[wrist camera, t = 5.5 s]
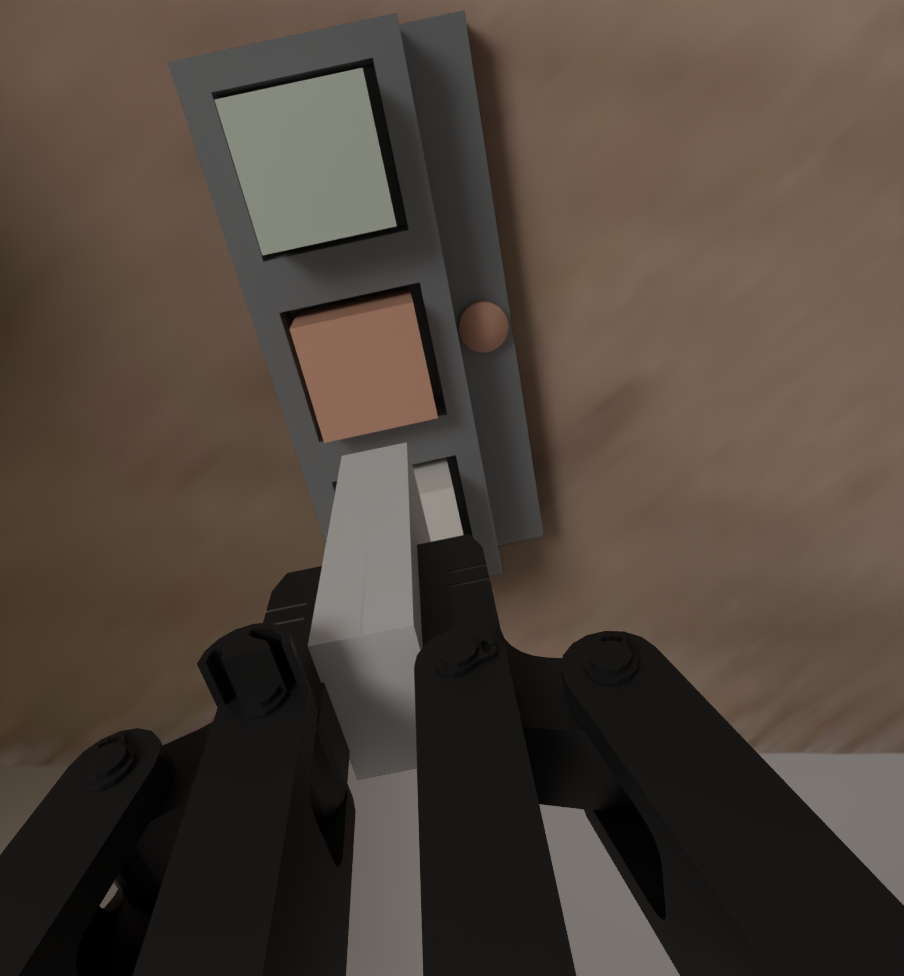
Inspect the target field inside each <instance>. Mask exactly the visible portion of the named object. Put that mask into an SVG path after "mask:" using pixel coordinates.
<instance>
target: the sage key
mask: <svg viewBox="0 0 904 976" xmlns="http://www.w3.org/2000/svg"><path fill="white" fill-rule="evenodd" d="M215 103H216V107H217V110H218V113H219V116H220V120H221V123H222V126H223V129H224V133H225V136H226V139H227V142H228V146H229V149H230V152H231V155H232V159H233V162H234V165H235V168H236V171H237V175H238V178H239V181H240V184H241V188H242V191H243V194H244V197H245V201H246V204H247V207H248V210H249V214H250V217H251V220H252V223H253V227H254V230H255V233H256V236H257V240H258V243H259V246H260V249H261V253H262V255H267V254H271V253H276V252H281V251H285V250H290V249H294V248H299V247H304V246H308V245H313V244H317V243H322V242H327V241H331V240H336V239H340V238H345V237H350V236H354V235H359V234H363V233H368V232H373V231H377V230H382V229H386V228H391V227H396V226H397V225H396V220H395V216H394V211H393V206H392V202H391V197H390V193H389V188H388V183H387V179H386V174H385V169H384V165H383V160H382V156H381V151H380V146H379V142H378V137H377V132H376V128H375V123H374V118H373V114H372V109H371V105H370V100H369V95H368V91H367V86H366V81H365V77H364V72H363V68H359V69H354V70H349V71H345V72H340V73H336V74H331V75H326V76H322V77H317V78H312V79H308V80H303V81H299V82H294V83H289V84H285V85H280V86H276V87H271V88H266V89H262V90H257V91H252V92H248V93H243V94H239V95H234V96H229V97H225V98H220V99H215Z"/></svg>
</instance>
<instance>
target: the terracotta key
mask: <svg viewBox="0 0 904 976" xmlns="http://www.w3.org/2000/svg"><path fill="white" fill-rule="evenodd" d="M290 333H291V336H292V339H293V342H294V346H295V349H296V352H297V355H298V359H299V362H300V365H301V369H302V372H303V375H304V378H305V382H306V385H307V388H308V391H309V395H310V398H311V401H312V405H313V408H314V411H315V414H316V418H317V421H318V424H319V428H320V431H321V434H322V437H323V441H324V443H327V442H331V441H336V440H340V439H345V438H350V437H354V436H359V435H363V434H368V433H372V432H377V431H382V430H386V429H391V428H395V427H400V426H404V425H409V424H414V423H418V422H423V421H427V420H432V419H436V418H438V416H437V411H436V406H435V402H434V397H433V392H432V388H431V383H430V379H429V374H428V369H427V365H426V360H425V355H424V351H423V346H422V342H421V337H420V332H419V328H418V323H417V318H416V314H415V309H414V304H413V300H412V296H411V292H410V288H409V287H407V288H402V289H397V290H393V291H388V292H384V293H379V294H375V295H370V296H365V297H361V298H356V299H352V300H347V301H342V302H338V303H333V304H329V305H324V306H319V307H315V308H310V309H306V310H301V311H298V313H297V315H296V317H295V319H294V321H293V323H292V325H291V327H290Z"/></svg>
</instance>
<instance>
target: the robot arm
mask: <svg viewBox="0 0 904 976" xmlns="http://www.w3.org/2000/svg"><path fill="white" fill-rule="evenodd" d="M197 665H198V667H199V669H200V671H201V673H202V676H203V678H204V680H205V682H206V684H207V686H208V688H209V690H210V692H211V694H212V697H213V699H214V701H215V703H216V705H217V707H218V708H217V712H216V715H215V718H214V721H213V722H212V723H210V724H208V725H206V726H204V727H202V728H201V729H199V730H197V731H194V732H192V733H190V734H188V735H185V736H183V737H181V738H179V739H176V740H174V741H172V742H170V743H167V744H165V745H162V743H161V741H160V740H159V738H158V737H157V736H156V735H155V734H154V733H153V732H152V731H149V730H144V729H139V728H136V729H130V730H125V731H120V732H117V733H115V734H113V735H110V736H108V737H106V738H104V739H101V740H100V741H98V742H97V743H95V744H94V745H93V746H91V747H90V748H88V749H87V750H85V751H84V752H83V753H82V754H81V755H80V756H79V757H78V758H77V759H76V760H75V761H74V762H73V763H72V764H71V765H70V766H69V767H68V768H67V770H66V771H65V772H64V774H63V775H62V776H61V778H60V779H59V780H58V781H57V783H56V784H55V785H54V787H53V788H52V789H51V790H50V792H49V793H48V794H47V795H46V797H45V798H44V800H43V801H42V802H41V803H40V804H39V806H38V807H37V808H36V810H35V811H34V812H33V814H32V815H31V816H30V817H29V819H28V820H27V821H26V823H25V824H24V825H23V826H22V828H21V829H20V830H19V832H18V833H17V834H16V835H15V837H14V838H13V839H12V840H11V842H10V843H9V844H8V846H7V847H6V848H5V849H4V851H3V852H2V853H1V855H0V976H346V964H347V947H348V929H349V912H350V895H351V878H352V862H353V844H354V826H355V806H354V800H353V797H352V794H351V791H350V789H349V786H348V784H347V780H348V766H349V759H350V761H351V764H352V767H353V770H354V772H355V775H356V778H357V780H361V779H366V778H371V777H376V776H381V775H386V774H391V773H396V772H401V771H406V770H411V769H416V768H417V782H418V814H419V848H420V878H421V879H420V880H421V912H422V943H423V944H422V945H423V976H576V972H575V968H574V963H573V959H572V954H571V949H570V945H569V940H568V935H567V931H566V927H565V922H564V917H563V912H562V908H561V903H560V899H559V894H558V889H557V885H556V880H555V875H554V871H553V866H552V862H551V857H550V852H549V848H548V843H547V839H546V834H545V829H544V825H543V820H542V815H541V811H540V806H539V804H544V805H552V806H561V807H569V808H578V809H584V811H585V813H586V816H587V818H588V820H589V821H590V823H591V825H592V827H593V828H594V830H595V832H596V833H597V835H598V837H599V838H600V840H601V842H602V843H603V845H604V847H605V849H606V850H607V852H608V854H609V855H610V857H611V859H612V860H613V862H614V864H615V866H616V867H617V869H618V871H619V872H620V874H621V876H622V878H623V879H624V881H625V883H626V884H627V886H628V888H629V889H630V891H631V893H632V894H633V896H634V898H635V900H636V901H637V903H638V905H639V906H640V908H641V910H642V912H643V913H644V915H645V917H646V918H647V920H648V921H649V923H650V925H651V927H652V928H653V930H654V932H655V934H656V935H657V937H658V939H659V940H660V942H661V944H662V945H663V947H664V949H665V951H666V952H667V954H668V956H669V957H670V959H671V960H672V962H673V964H674V966H675V968H676V969H677V971H678V973H679V974H680V976H904V905H902V903H901V902H900V901H899V900H898V899H897V898H896V897H895V896H894V895H893V894H892V893H891V892H890V891H889V890H888V889H887V888H886V887H885V886H884V885H883V884H882V883H881V882H880V881H879V879H878V878H877V877H876V876H875V875H874V874H873V873H872V872H871V871H870V870H869V869H868V868H867V867H866V866H865V865H864V864H863V863H862V862H861V861H860V860H859V859H858V858H857V856H856V855H855V854H854V853H853V852H852V851H851V850H850V849H849V848H848V847H847V846H846V845H845V844H844V843H843V842H842V841H841V840H840V839H839V838H838V837H837V836H836V835H835V834H834V833H833V831H832V830H831V829H830V828H829V827H828V826H827V825H826V824H825V823H824V822H823V821H822V820H821V819H820V818H819V817H818V816H817V815H816V814H815V813H814V812H813V811H812V810H811V809H810V808H809V806H808V805H807V804H806V803H805V802H804V801H803V800H802V799H801V798H800V797H799V796H798V795H797V794H796V793H795V792H794V791H793V790H792V789H791V788H790V787H789V786H788V785H787V784H786V782H785V781H784V780H783V779H782V778H781V777H780V776H779V775H778V774H777V773H776V772H775V771H774V770H773V769H772V768H771V767H770V766H769V765H768V764H767V763H766V762H765V761H764V759H763V758H761V756H760V755H759V754H758V753H757V752H756V751H755V750H754V749H753V748H752V747H751V746H750V745H749V744H748V743H747V742H746V741H745V740H744V739H743V738H742V737H741V735H740V734H739V733H738V732H737V731H736V730H735V729H734V728H733V727H732V726H731V725H730V724H729V723H728V722H727V721H726V720H725V719H724V718H723V717H722V716H721V715H720V714H719V713H718V712H717V710H716V709H715V708H714V707H713V706H712V705H711V704H710V703H709V702H708V701H707V700H706V699H705V698H704V697H703V696H702V695H701V694H700V693H699V692H698V691H697V690H696V689H695V688H694V686H693V685H692V684H691V683H690V682H689V681H688V680H687V679H686V678H685V677H684V676H683V675H682V674H681V673H680V672H679V671H678V670H677V669H676V668H675V667H674V666H673V665H672V664H671V662H670V661H669V660H668V659H667V658H666V657H665V656H664V655H663V654H662V653H661V652H660V651H659V650H658V649H657V648H656V647H655V646H654V645H652V644H651V643H649V642H648V641H647V640H645V639H644V638H642V637H640V636H637V635H633V634H630V633H627V632H619V631H603V632H599V633H595V634H590V635H587V636H585V637H583V638H581V639H580V640H578V641H576V642H574V643H573V644H572V645H571V646H570V647H569V649H568V650H567V651H566V652H565V654H564V655H563V658H546V657H539V656H532V655H529V654H526V653H523V652H521V651H519V650H517V649H516V648H514V647H512V646H511V645H510V644H509V643H508V642H507V641H506V640H505V638H504V636H503V634H502V632H501V629H500V624H499V620H498V615H497V610H496V606H495V601H494V597H493V592H492V588H491V583H490V579H489V574H488V569H487V565H486V560H485V556H484V551H483V547H482V545H480V544H479V543H478V542H477V541H476V540H475V539H474V538H472V537H471V536H470V535H469V534H467V535H462V536H457V537H452V538H447V539H442V540H437V541H432V542H431V540H430V536H429V532H428V528H427V524H426V519H425V515H424V511H423V507H422V503H421V499H420V495H419V491H418V487H417V482H416V478H415V474H414V470H413V466H412V462H411V458H410V454H409V449H408V445H407V442H406V443H401V444H396V445H392V446H387V447H382V448H377V449H372V450H368V451H363V452H358V453H353V454H348V455H344V456H342V458H341V463H340V469H339V474H338V480H337V485H336V491H335V497H334V502H333V508H332V513H331V519H330V525H329V530H328V536H327V541H326V547H325V553H324V558H323V564H322V566H320V567H315V568H310V569H305V570H300V571H296V572H291V573H287V574H286V575H285V576H284V578H283V579H282V580H281V581H280V582H279V584H278V585H277V586H276V587H275V588H274V590H273V591H272V593H271V597H270V600H269V604H268V607H267V613H266V614H265V618H264V621H263V623H260V624H251V625H248V626H245V627H242V628H239V629H236V630H234V631H232V632H230V633H228V634H227V635H225V636H223V637H221V638H220V639H218V640H217V641H216V642H215V643H214V644H212V645H211V646H210V647H209V648H208V649H207V650H206V651H205V652H204V653H203V655H202V657H201V658H200V660H199V661H198V663H197ZM113 882H114V883H115V885H116V886H117V888H118V890H117V892H116V894H115V896H114V897H113V898H112V899H111V901H110V902H109V903H108V904H107V906H106V907H105V908H101V907H100V906H99V905H100V904H101V902H102V900H103V899H104V897H105V895H106V894H107V892H108V890H109V889H110V887H111V885H112V884H113Z"/></svg>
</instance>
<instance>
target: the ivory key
mask: <svg viewBox="0 0 904 976" xmlns="http://www.w3.org/2000/svg"><path fill="white" fill-rule="evenodd" d="M412 466H413V470H414V474H415V478H416V482H417V487H418V491H419V495H420V499H421V503H422V507H423V511H424V515H425V519H426V524H427V528H428V532H429V536H430V540H431V542H432V541H437V540H442V539H447V538H452V537H457V536H462V535H463V531H462V526H461V522H460V517H459V512H458V508H457V503H456V498H455V494H454V489H453V485H452V480H451V476H450V472H449V467H448V463H447V459H446V457H445V458H440V459H436V460H431V461H427V462H422V463H417V464H413V465H412Z"/></svg>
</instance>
